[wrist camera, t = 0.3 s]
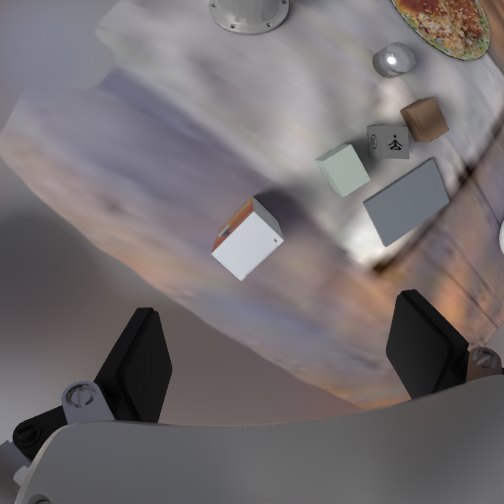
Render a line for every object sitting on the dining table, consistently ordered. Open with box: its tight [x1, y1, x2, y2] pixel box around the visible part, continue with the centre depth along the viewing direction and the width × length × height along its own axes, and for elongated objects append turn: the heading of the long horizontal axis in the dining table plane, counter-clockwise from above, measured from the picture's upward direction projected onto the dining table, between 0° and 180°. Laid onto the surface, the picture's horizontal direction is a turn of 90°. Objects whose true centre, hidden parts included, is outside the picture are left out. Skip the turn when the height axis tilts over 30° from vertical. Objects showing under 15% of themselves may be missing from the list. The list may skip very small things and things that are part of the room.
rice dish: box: [392, 0, 490, 61], centre depth 29 cm, size 28×28×5 cm
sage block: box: [315, 144, 370, 197], centre depth 41 cm, size 6×5×5 cm
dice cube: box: [367, 125, 409, 159], centre depth 39 cm, size 5×5×5 cm
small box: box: [211, 197, 285, 281], centre depth 41 cm, size 8×6×10 cm
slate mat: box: [363, 158, 449, 247], centre depth 45 cm, size 9×16×1 cm, turn 124°
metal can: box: [373, 42, 415, 78], centre depth 34 cm, size 5×5×6 cm
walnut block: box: [400, 97, 449, 142], centre depth 38 cm, size 6×5×5 cm
